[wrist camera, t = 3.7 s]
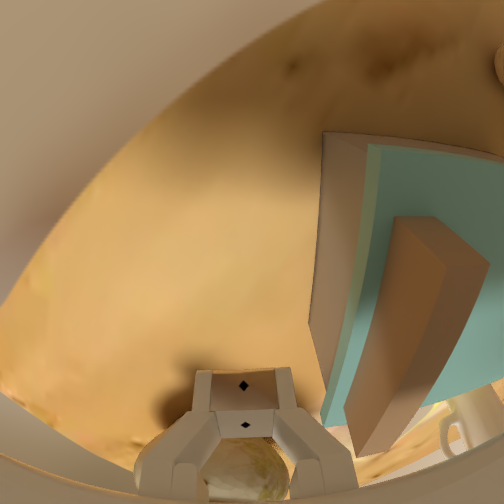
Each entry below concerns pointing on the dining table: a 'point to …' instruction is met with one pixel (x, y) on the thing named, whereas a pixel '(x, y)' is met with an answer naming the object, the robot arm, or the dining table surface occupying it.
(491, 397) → the mug
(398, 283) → the lid
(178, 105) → the dining table surface
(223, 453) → the sugar bowl
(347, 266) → the bin
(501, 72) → the steel ball
